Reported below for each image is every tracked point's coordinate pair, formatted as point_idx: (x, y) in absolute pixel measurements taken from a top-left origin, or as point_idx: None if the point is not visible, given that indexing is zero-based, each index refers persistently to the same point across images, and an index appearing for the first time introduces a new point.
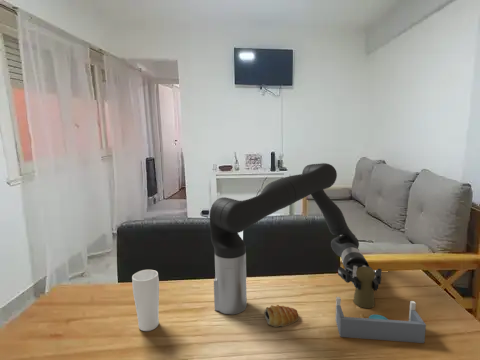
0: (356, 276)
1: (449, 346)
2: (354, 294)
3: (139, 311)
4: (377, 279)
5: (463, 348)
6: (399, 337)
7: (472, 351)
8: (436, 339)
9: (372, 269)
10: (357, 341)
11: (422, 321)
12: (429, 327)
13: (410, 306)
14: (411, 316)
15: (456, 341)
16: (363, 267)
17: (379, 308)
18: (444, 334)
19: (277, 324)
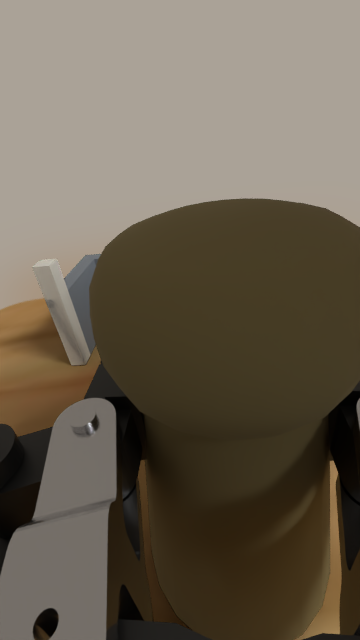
0: (357, 399)
1: (44, 312)
2: (329, 541)
3: None
4: (48, 435)
5: (16, 312)
6: None
7: (6, 308)
8: (53, 325)
9: (102, 253)
10: None
11: (83, 261)
12: (18, 364)
13: (60, 284)
14: (78, 309)
15: (4, 326)
16: (257, 217)
17: (144, 469)
18: (5, 343)
19: None
